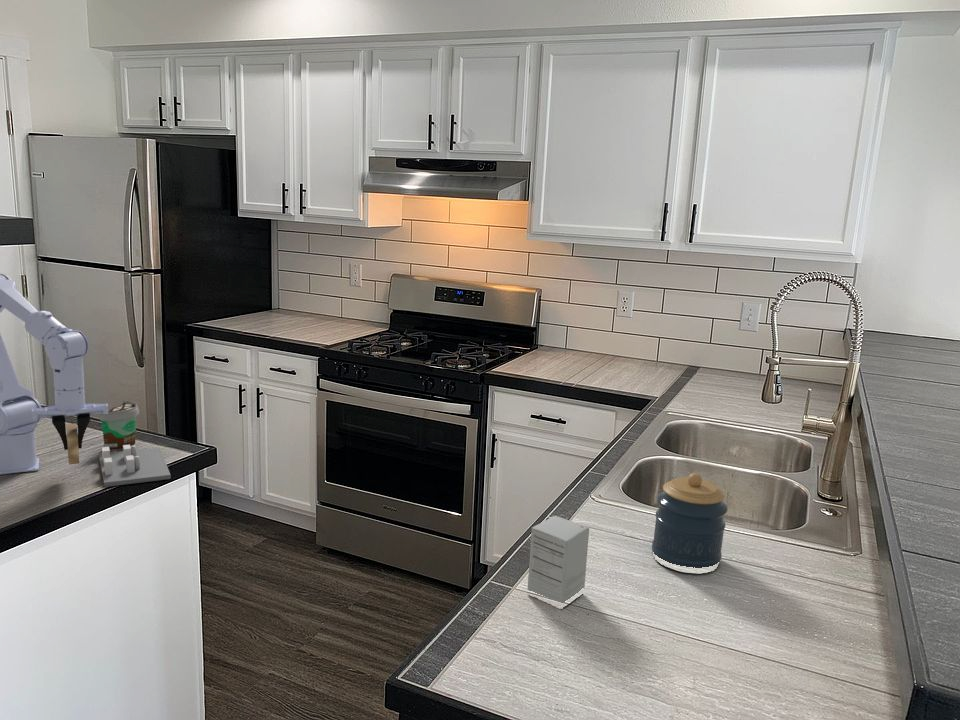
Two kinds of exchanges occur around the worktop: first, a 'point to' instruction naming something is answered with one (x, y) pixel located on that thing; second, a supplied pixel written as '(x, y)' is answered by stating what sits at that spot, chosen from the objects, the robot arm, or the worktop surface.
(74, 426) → the oak block
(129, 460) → the board
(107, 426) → the food container
